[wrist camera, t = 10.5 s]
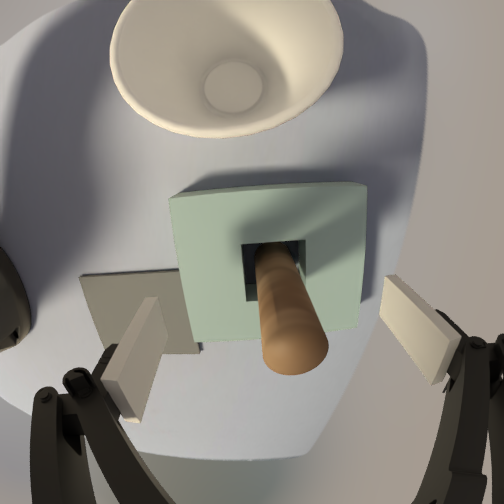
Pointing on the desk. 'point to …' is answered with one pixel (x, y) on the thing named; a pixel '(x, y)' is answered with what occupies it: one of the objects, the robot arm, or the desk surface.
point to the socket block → (269, 230)
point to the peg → (286, 314)
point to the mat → (130, 299)
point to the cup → (224, 62)
